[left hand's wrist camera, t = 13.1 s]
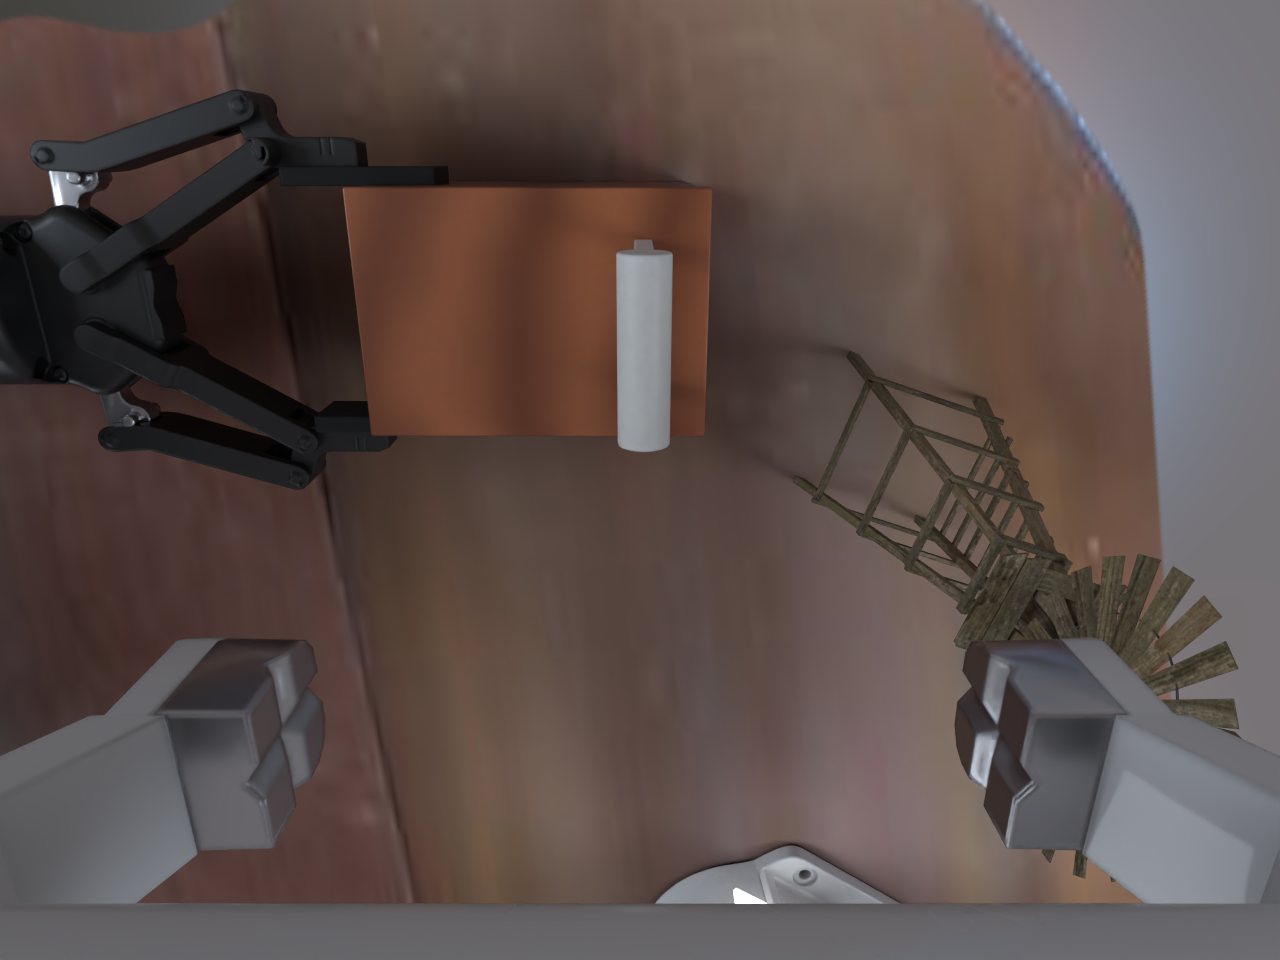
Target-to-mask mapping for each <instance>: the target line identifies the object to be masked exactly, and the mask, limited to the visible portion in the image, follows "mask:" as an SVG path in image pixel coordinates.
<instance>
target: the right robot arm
mask: <svg viewBox="0 0 1280 960" xmlns="http://www.w3.org/2000/svg"><path fill="white" fill-rule="evenodd" d="M239 133H242V134H243V136H244V138H245V140H246V142H247V143H246V144H245V145H243V146H242V147H240V148H239V149H237V150H236V151H235V152H233V153H232V154H230V155H229V156H228V157H226V158H225V159H223V160H222V161H220V162H219V163H218V164H216V165H215V166H213V167H212V168H211V169H209V170H208V171H206V172H205V173H203V174H202V175H201V176H199V177H198V178H196V179H195V180H194V181H192V182H191V183H189V184H188V185H186V186H185V187H184V188H182V189H181V190H179V191H178V192H177V193H175V194H174V195H172V196H171V197H169V198H168V199H167V200H165V201H164V202H162V203H161V204H160V205H158V206H157V207H155V208H154V209H152V210H151V211H150V212H148V213H147V214H145V215H144V216H142V217H141V218H139V219H136V220H134V221H131V222H130V223H128V224H126V225H124V226H121V225H120V224H118V223H117V222H115V221H114V220H112V219H110V218H109V217H107V216H106V215H104V214H103V213H101V212H100V211H98V210H97V209H95V208H93V207H91V206H90V200H91V197H92V195H93V194H94V193H96V192H98V191H102V190H105V189H106V188H107V187H108V186H109V184H110V182H111V181H112V174H111V173H110V172H122V171H129V170H133V169H137V168H141V167H143V166H146V165H149V164H152V163H155V162H158V161H161V160H164V159H167V158H170V157H173V156H175V155H178V154H181V153H184V152H187V151H190V150H193V149H196V148H199V147H202V146H205V145H207V144H210V143H213V142H216V141H219V140H222V139H225V138H228V137H231V136H234V135H236V134H239ZM30 156H31V158H32V161H33V162H34V163H35V165H36V166H37V167H39V168H40V169H42V170H46V171H49V176H50V181H51V187H52V192H53V198H54V203H55V206H54V207H52V208H50V209H48V210H47V211H46V212H44V213H43V214H40V215H38V216H0V384H72V385H77V386H80V387H83V388H85V389H87V390H89V391H91V392H93V393H96V394H99V396H100V399H101V403H102V406H103V410H104V413H105V416H106V420H107V423H108V426H107V427H105V428H103V429H102V430H101V431H100V432H99V434H98V440H99V442H100V444H101V446H102V447H103V448H105V449H106V450H108V451H113V452H119V451H138V450H152V451H155V452H159V453H163V454H166V455H170V456H174V457H177V458H181V459H185V460H188V461H192V462H196V463H199V464H203V465H207V466H210V467H214V468H218V469H222V470H225V471H229V472H233V473H236V474H240V475H244V476H247V477H251V478H255V479H258V480H262V481H266V482H269V483H273V484H277V485H280V486H284V487H288V488H292V489H297V490H300V489H304V488H305V487H306V486H307V485H308V484H309V483H310V482H311V481H312V480H313V479H314V478H315V477H316V476H317V475H318V474H319V473H320V472H321V471H322V470H323V469H324V468H325V466H326V459H325V457H326V453H327V452H329V451H382V450H384V449H387V448H389V447H390V446H391V445H392V444H393V443H394V441H395V440H396V439H397V436H373V435H372V434H371V427H370V419H369V410H368V402H367V401H334V402H332V403H331V404H330V405H328V406H327V407H326V408H325V409H323V410H322V411H321V412H320V413H319V412H317V411H315V410H313V409H311V408H309V407H307V406H305V405H303V404H302V403H300V402H298V401H296V400H294V399H292V398H290V397H288V396H286V395H285V394H283V393H281V392H279V391H277V390H275V389H273V388H271V387H269V386H267V385H266V384H264V383H262V382H260V381H258V380H256V379H254V378H252V377H250V376H249V375H247V374H245V373H243V372H241V371H239V370H237V369H235V368H233V367H231V366H230V365H228V364H226V363H224V362H222V361H220V360H218V359H216V358H214V357H213V356H211V355H210V354H209V352H208V350H207V349H206V348H204V347H203V346H201V345H199V344H197V343H195V342H193V341H191V340H190V339H188V338H186V337H184V336H182V333H184V332H186V331H187V330H186V325H185V320H184V315H183V313H182V311H181V309H180V306H179V304H178V302H177V300H176V289H177V278H176V273H175V268H174V265H168V263H167V261H166V259H165V256H166V255H168V254H169V253H171V252H172V251H174V250H175V249H177V248H178V247H179V246H181V245H182V244H184V243H185V242H186V241H187V240H188V238H189V237H190V236H191V235H193V234H194V233H196V232H197V231H199V230H200V229H202V228H203V227H204V226H206V225H207V224H209V223H210V222H212V221H213V220H215V219H216V218H217V217H219V216H220V215H222V214H223V213H225V212H226V211H228V210H229V209H230V208H232V207H233V206H235V205H236V204H238V203H239V202H241V201H242V200H244V199H245V198H246V197H248V196H249V195H251V194H252V193H254V192H255V191H257V190H258V189H259V188H261V187H262V186H264V185H265V184H267V183H268V182H270V181H271V180H272V179H274V178H275V177H277V176H278V175H280V182H281V186H361V185H442V184H449V176H448V166H368V160H367V151H366V143H364V142H362V141H360V140H357V139H355V138H346V137H293V136H291V135H290V134H288V133H287V132H286V131H285V130H284V129H283V127H282V125H281V123H280V121H279V119H278V117H277V107H276V104H275V102H274V101H273V99H272V98H270V97H269V96H268V95H265V94H261V93H255V92H249V91H244V90H231V91H228V92H225V93H222V94H220V95H217V96H214V97H211V98H208V99H205V100H202V101H200V102H197V103H194V104H191V105H188V106H185V107H182V108H180V109H177V110H174V111H171V112H168V113H165V114H163V115H160V116H157V117H154V118H151V119H148V120H145V121H143V122H140V123H137V124H134V125H131V126H128V127H125V128H123V129H120V130H117V131H114V132H111V133H108V134H105V135H103V136H100V137H97V138H94V139H91V140H88V141H85V142H82V141H53V140H39V141H36V142H34V143H33V144H32V146H31V148H30ZM142 377H143V378H145V379H147V380H149V381H151V382H153V383H155V384H157V385H159V386H161V387H165V388H174V389H177V390H179V391H181V392H183V393H185V394H187V395H189V396H191V397H193V398H195V399H197V400H199V401H201V402H203V403H205V404H206V405H208V406H210V407H212V408H214V409H216V410H218V411H220V412H222V413H224V414H226V415H228V416H230V417H232V418H234V419H236V420H237V421H239V422H241V423H243V424H245V425H247V426H249V427H251V428H253V429H255V430H257V431H259V432H261V433H263V434H265V435H267V436H268V437H266V436H262V435H259V434H255V433H251V432H248V431H244V430H240V429H237V428H233V427H230V426H226V425H222V424H219V423H215V422H212V421H208V420H204V419H201V418H197V417H194V416H190V415H186V414H181V413H175V412H160V411H161V408H160V406H159V405H158V404H157V403H152V402H150V401H146V400H141V399H139V398H137V397H136V396H135V395H134V394H133V393H132V391H131V389H130V386H132V385H133V384H135V383H136V382H137V381H138V380H140V379H141V378H142ZM269 437H270V438H269Z"/></svg>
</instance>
